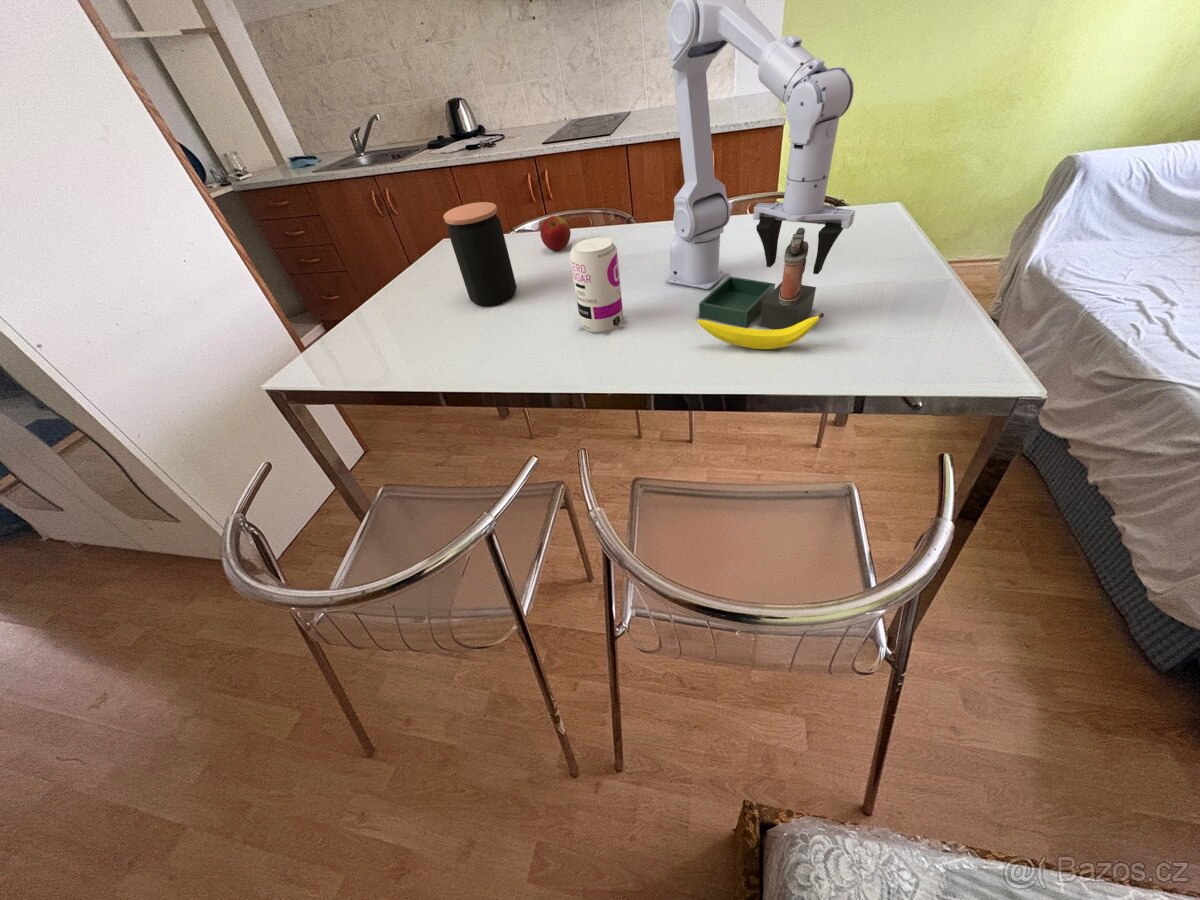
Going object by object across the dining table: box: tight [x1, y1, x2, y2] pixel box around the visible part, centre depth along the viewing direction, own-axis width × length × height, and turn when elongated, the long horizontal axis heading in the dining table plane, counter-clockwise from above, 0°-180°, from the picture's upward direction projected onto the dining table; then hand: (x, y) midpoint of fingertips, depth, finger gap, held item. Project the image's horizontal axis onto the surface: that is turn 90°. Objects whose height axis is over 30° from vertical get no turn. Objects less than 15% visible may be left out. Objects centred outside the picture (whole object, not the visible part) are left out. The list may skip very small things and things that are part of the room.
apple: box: [539, 215, 571, 252], centre depth 121 cm, size 8×8×8 cm
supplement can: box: [569, 235, 624, 334], centre depth 87 cm, size 8×8×15 cm
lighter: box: [779, 227, 810, 305], centre depth 79 cm, size 8×3×10 cm, turn 155°
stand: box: [759, 281, 817, 330], centre depth 84 cm, size 6×8×4 cm
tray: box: [698, 275, 776, 328], centre depth 89 cm, size 9×12×3 cm
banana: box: [696, 312, 825, 350], centre depth 77 cm, size 3×19×6 cm, turn 75°
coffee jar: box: [442, 201, 518, 308], centre depth 101 cm, size 11×11×18 cm
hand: (793, 268), depth 79 cm, fingers open, 7 cm apart
